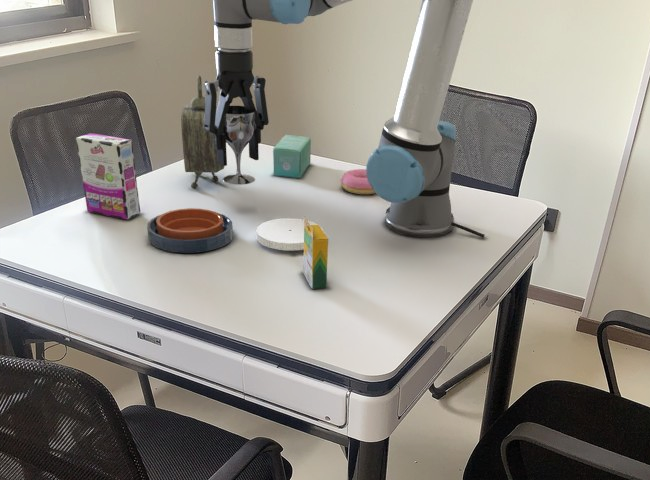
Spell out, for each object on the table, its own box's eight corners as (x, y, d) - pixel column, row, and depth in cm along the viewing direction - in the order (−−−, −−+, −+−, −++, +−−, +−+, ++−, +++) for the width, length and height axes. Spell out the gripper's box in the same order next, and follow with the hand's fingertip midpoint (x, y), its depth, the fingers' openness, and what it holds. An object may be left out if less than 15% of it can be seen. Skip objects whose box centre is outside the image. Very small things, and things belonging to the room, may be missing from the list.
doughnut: (331, 189, 182) (332, 173, 180) (356, 179, 190) (357, 163, 187) (367, 199, 177) (368, 182, 175) (392, 188, 185) (393, 172, 182)
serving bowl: (248, 242, 151) (248, 228, 149) (173, 261, 142) (172, 247, 140) (206, 217, 162) (205, 204, 160) (134, 233, 152) (132, 219, 151)
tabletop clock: (191, 172, 188) (183, 69, 174) (226, 173, 189) (221, 71, 175) (186, 191, 176) (177, 82, 162) (224, 191, 177) (218, 83, 163)
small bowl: (236, 241, 151) (235, 223, 149) (177, 255, 144) (176, 236, 142) (203, 221, 160) (202, 204, 158) (147, 234, 152) (144, 216, 150)
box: (272, 176, 189) (272, 147, 185) (284, 161, 200) (284, 134, 196) (300, 179, 188) (300, 150, 184) (310, 164, 199) (311, 136, 195)
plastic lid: (244, 247, 149) (244, 236, 147) (274, 225, 160) (274, 214, 158) (307, 260, 145) (307, 248, 144) (333, 236, 156) (333, 225, 155)
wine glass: (250, 186, 158) (248, 116, 150) (215, 182, 160) (211, 112, 151) (261, 176, 165) (260, 107, 157) (228, 172, 166) (225, 104, 158)
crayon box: (327, 288, 135) (329, 229, 128) (311, 289, 134) (312, 230, 128) (317, 272, 140) (319, 214, 134) (302, 273, 140) (303, 215, 133)
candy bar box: (142, 213, 162) (133, 139, 153) (128, 220, 158) (118, 144, 149) (100, 205, 165) (90, 131, 156) (86, 211, 161) (74, 136, 152)
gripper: (265, 43, 156) (267, 150, 168) (179, 49, 144) (188, 163, 157) (285, 48, 151) (285, 158, 163) (198, 55, 140) (206, 173, 152)
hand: (238, 161), depth 160 cm, fingers closed on wine glass, 7 cm apart
